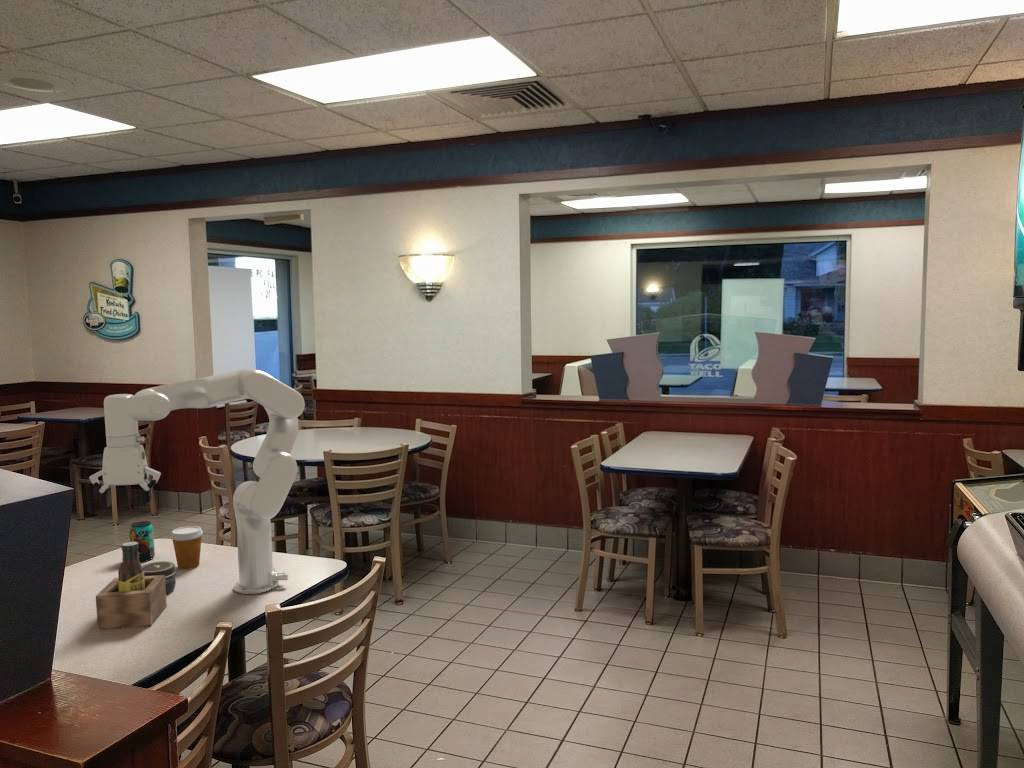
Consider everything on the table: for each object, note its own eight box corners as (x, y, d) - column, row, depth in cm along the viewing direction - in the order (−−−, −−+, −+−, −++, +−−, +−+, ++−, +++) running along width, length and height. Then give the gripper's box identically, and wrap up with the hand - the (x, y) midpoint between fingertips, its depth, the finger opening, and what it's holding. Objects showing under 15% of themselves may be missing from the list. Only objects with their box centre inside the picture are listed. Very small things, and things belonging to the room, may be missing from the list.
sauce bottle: (135, 622, 195) (130, 548, 193) (114, 620, 196) (109, 547, 194) (151, 611, 201) (147, 540, 199) (131, 610, 202) (126, 539, 200)
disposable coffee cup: (197, 571, 233) (195, 534, 232) (166, 571, 233) (164, 534, 232) (209, 561, 243) (207, 525, 241) (180, 561, 243) (178, 525, 241)
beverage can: (126, 562, 242) (124, 526, 241) (140, 555, 249) (138, 520, 248) (145, 563, 241) (143, 527, 240) (159, 556, 248) (157, 521, 247)
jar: (158, 583, 223) (157, 559, 222) (184, 587, 220) (182, 562, 219) (130, 595, 214) (129, 570, 213) (157, 600, 210) (155, 574, 210)
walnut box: (166, 606, 206) (164, 575, 205) (151, 626, 193) (149, 592, 192) (116, 609, 204) (114, 577, 203) (97, 629, 191) (95, 596, 190)
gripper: (162, 437, 199) (166, 500, 200) (93, 440, 196) (98, 503, 198) (153, 442, 191) (157, 507, 193) (81, 445, 189) (86, 511, 191)
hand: (127, 505), depth 195 cm, fingers open, 9 cm apart
